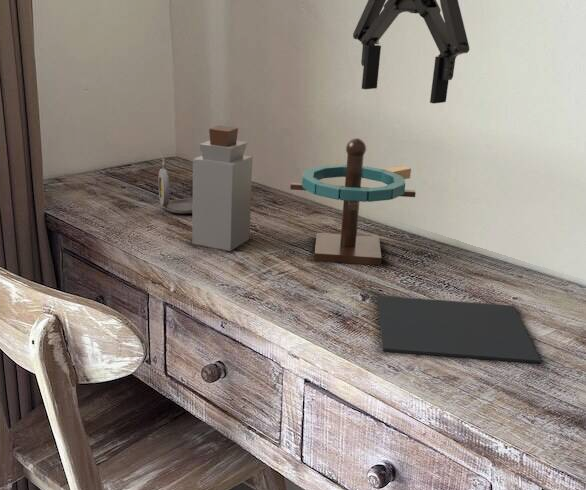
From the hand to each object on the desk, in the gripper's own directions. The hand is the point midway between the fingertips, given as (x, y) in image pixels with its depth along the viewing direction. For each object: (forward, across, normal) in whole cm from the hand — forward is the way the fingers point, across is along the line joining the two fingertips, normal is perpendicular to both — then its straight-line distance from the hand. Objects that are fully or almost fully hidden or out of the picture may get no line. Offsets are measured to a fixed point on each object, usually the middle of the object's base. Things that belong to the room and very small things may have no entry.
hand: (402, 95), depth 123 cm
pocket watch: (+24, -33, -18) cm, 45 cm away
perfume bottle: (+24, -15, -22) cm, 36 cm away
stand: (+24, 0, -9) cm, 25 cm away
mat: (+23, +27, -18) cm, 40 cm away
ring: (+13, 0, -8) cm, 15 cm away
